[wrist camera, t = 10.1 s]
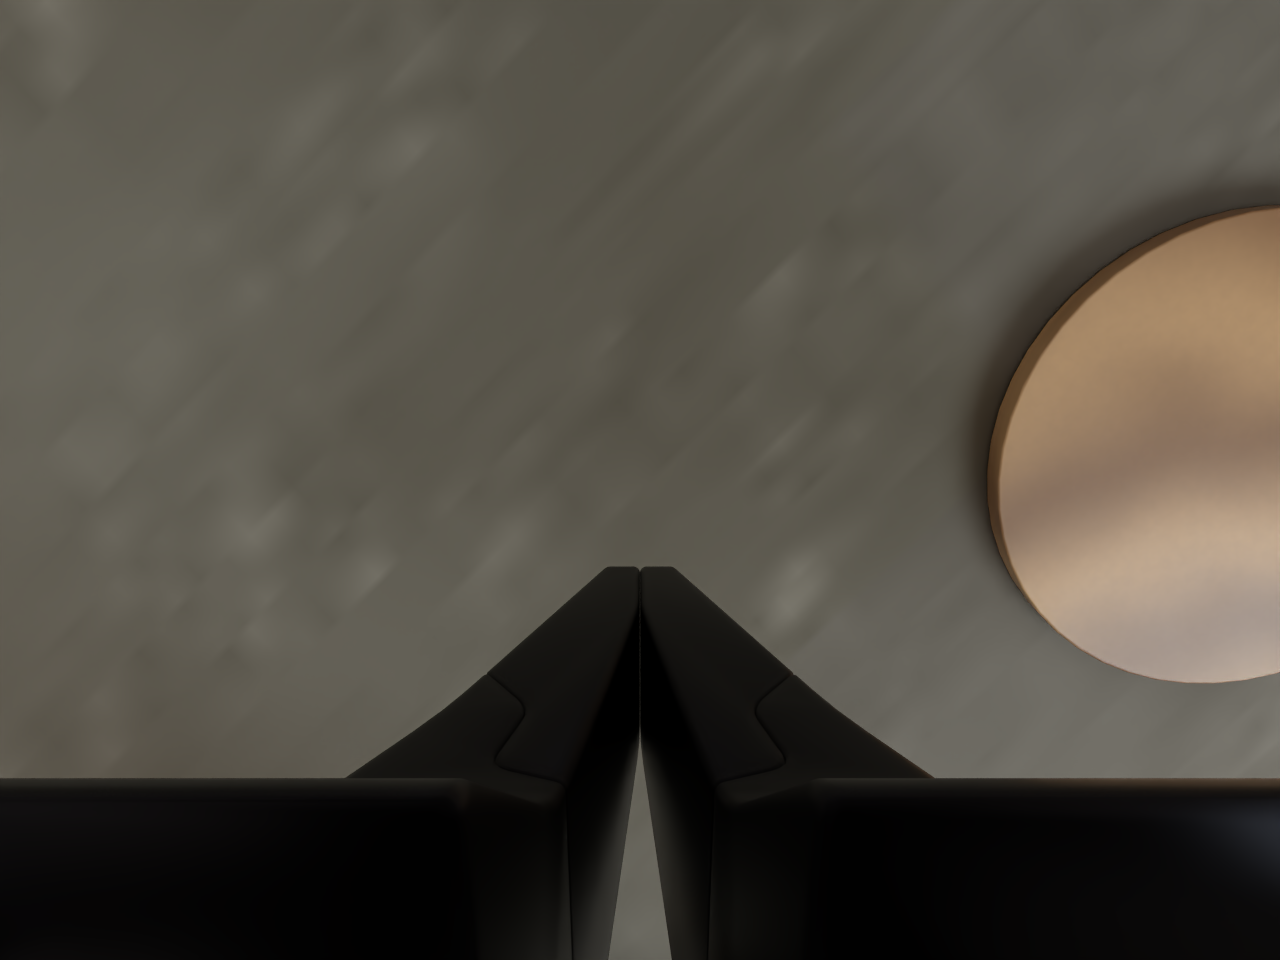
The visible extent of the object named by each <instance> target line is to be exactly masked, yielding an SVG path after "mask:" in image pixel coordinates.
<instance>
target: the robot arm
mask: <svg viewBox="0 0 1280 960" xmlns="http://www.w3.org/2000/svg"><path fill="white" fill-rule="evenodd" d="M639 733H641V748H642V757H643V765H644V772H645V778H646V785H647V792H648V799H649V806H650V813H651V820H652V826H653V833H654V840H655V847H656V854H657V861H658V867H659V874H660V881H661V888H662V895H663V902H664V908H665V915H666V922H667V929H668V936H669V943H670V950H671V956H672V960H1280V778H934V777H932V776H931V775H930V774H928V773H927V772H925V771H924V770H922V769H921V768H919V767H918V766H916V765H915V764H914V763H912V762H911V761H909V760H908V759H906V758H905V757H903V756H902V755H900V754H899V753H897V752H896V751H895V750H893V749H892V748H890V747H889V746H887V745H886V744H884V743H883V742H881V741H880V740H879V739H877V738H876V737H874V736H873V735H871V734H870V733H868V732H867V731H865V730H864V729H863V728H861V727H860V726H859V725H857V724H856V723H854V722H853V721H852V720H850V719H849V718H848V717H846V716H845V715H843V714H842V713H841V712H839V711H838V710H836V709H835V708H834V707H833V706H832V705H830V704H829V703H828V702H827V701H826V700H824V699H823V698H822V697H821V696H819V695H818V694H817V693H816V692H815V691H813V690H812V689H811V688H810V687H809V686H808V685H806V684H805V683H804V682H803V681H802V680H801V679H800V678H799V677H797V676H796V675H793V673H792V672H791V671H790V670H789V669H788V668H787V667H786V666H785V665H784V664H782V663H781V662H780V661H779V660H778V659H777V658H776V657H774V656H773V655H772V654H771V653H770V652H769V651H768V650H767V649H765V648H764V647H763V646H762V645H761V644H760V643H759V642H758V641H756V640H755V639H754V638H753V637H752V636H751V635H750V634H749V633H747V632H746V631H745V630H744V629H743V628H742V627H741V626H739V625H738V624H737V623H736V622H735V621H734V620H733V619H732V618H730V617H729V616H728V615H727V614H726V613H725V612H724V611H723V610H721V609H720V608H719V607H718V606H717V605H716V604H715V603H714V602H712V601H711V600H710V599H709V598H708V597H707V596H706V595H704V594H703V593H702V592H701V591H700V590H699V589H698V588H697V587H695V586H694V585H693V584H692V583H691V582H690V581H689V580H688V579H686V578H685V577H684V576H683V575H682V574H681V573H680V572H679V571H677V570H676V569H675V568H673V567H644V568H642V569H641V571H639V569H638V568H636V567H607V568H605V569H604V570H603V571H601V572H600V573H599V574H598V575H597V576H596V577H595V578H594V579H592V580H591V581H590V582H589V583H588V584H587V585H586V586H585V587H583V588H582V589H581V590H580V591H579V592H578V593H577V594H576V595H574V596H573V597H572V598H571V599H570V600H569V601H568V602H566V603H565V604H564V605H563V606H562V607H561V608H560V609H559V610H557V611H556V612H555V613H554V614H553V615H552V616H551V617H550V618H548V619H547V620H546V621H545V622H544V623H543V624H542V625H541V626H539V627H538V628H537V629H536V630H535V631H534V632H533V633H531V634H530V635H529V636H528V637H527V638H526V639H525V640H524V641H522V642H521V643H520V644H519V645H518V646H517V647H516V648H515V649H513V650H512V651H511V652H510V653H509V654H508V655H507V656H506V657H504V658H503V659H502V660H501V661H500V662H499V663H498V664H496V665H495V666H494V667H493V668H492V669H491V670H490V671H489V672H488V673H487V675H484V676H483V677H481V678H480V679H479V680H478V681H477V682H476V683H475V684H474V685H472V686H471V687H470V688H469V689H468V690H467V691H465V692H464V693H463V694H462V695H461V696H459V697H458V698H457V699H456V700H454V701H453V702H452V703H451V704H450V705H448V706H447V707H446V708H445V709H443V710H442V711H441V712H439V713H438V714H437V715H435V716H434V717H432V718H431V719H430V720H428V721H427V722H426V723H424V724H423V725H421V726H420V727H419V728H417V729H416V730H415V731H413V732H412V733H410V734H409V735H407V736H406V737H404V738H403V739H401V740H400V741H399V742H397V743H396V744H394V745H393V746H391V747H390V748H388V749H387V750H385V751H384V752H383V753H381V754H380V755H378V756H377V757H375V758H374V759H372V760H371V761H369V762H368V763H366V764H365V765H364V766H362V767H361V768H359V769H358V770H356V771H355V772H353V773H352V774H350V775H349V776H347V777H346V778H0V960H608V956H609V950H610V943H611V936H612V929H613V922H614V915H615V908H616V902H617V895H618V888H619V881H620V874H621V867H622V861H623V854H624V847H625V840H626V833H627V826H628V819H629V813H630V806H631V799H632V792H633V785H634V778H635V772H636V765H637V757H638V748H639Z"/></svg>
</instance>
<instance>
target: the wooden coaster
mask: <svg viewBox="0 0 1280 960" xmlns="http://www.w3.org/2000/svg"><path fill="white" fill-rule="evenodd" d="M987 500H988V506H989V513H990V519H991V526H992V530H993V533H994V536H995V540H996V543H997V546H998V549H999V553H1000V555H1001V557H1002V559H1003V561H1004V563H1005V565H1006V567H1007V570H1008V572H1009V574H1010V576H1011V578H1012V579H1013V581H1014V582H1015V584H1016V585H1017V587H1018V588H1019V589H1020V591H1021V592H1022V594H1023V595H1024V597H1025V598H1026V600H1027V601H1028V602H1029V603H1030V604H1031V605H1032V606H1033V607H1034V608H1035V610H1036V611H1037V612H1038V613H1039V614H1040V615H1041V616H1042V617H1043V618H1044V619H1045V620H1046V621H1047V622H1048V623H1049V624H1050V625H1051V627H1052V628H1053V629H1054V630H1055V631H1056V632H1058V633H1059V634H1060V635H1061V636H1063V637H1064V638H1065V639H1066V640H1068V641H1069V642H1070V643H1072V644H1073V645H1074V646H1075V647H1077V648H1078V649H1080V650H1082V651H1083V652H1085V653H1087V654H1089V655H1090V656H1092V657H1094V658H1096V659H1097V660H1099V661H1101V662H1103V663H1106V664H1108V665H1111V666H1113V667H1116V668H1118V669H1121V670H1123V671H1126V672H1129V673H1133V674H1137V675H1141V676H1145V677H1149V678H1153V679H1157V680H1165V681H1173V682H1181V683H1222V682H1231V681H1241V680H1248V679H1253V678H1257V677H1262V676H1266V675H1271V674H1276V673H1279V672H1280V205H1266V206H1259V207H1251V208H1243V209H1235V210H1230V211H1226V212H1222V213H1218V214H1215V215H1211V216H1207V217H1203V218H1199V219H1196V220H1193V221H1191V222H1188V223H1186V224H1183V225H1181V226H1178V227H1176V228H1173V229H1171V230H1168V231H1165V232H1163V233H1161V234H1159V235H1157V236H1155V237H1154V238H1152V239H1150V240H1148V241H1146V242H1144V243H1142V244H1140V245H1139V246H1137V247H1135V248H1133V249H1131V250H1130V251H1128V252H1127V253H1125V254H1124V255H1122V256H1121V257H1119V258H1118V259H1117V260H1115V261H1114V262H1112V263H1111V264H1109V265H1108V266H1106V267H1105V268H1104V269H1102V270H1101V271H1099V272H1098V273H1097V274H1096V275H1095V276H1094V277H1093V278H1091V279H1090V280H1089V281H1088V282H1087V283H1086V284H1085V285H1083V286H1082V287H1081V288H1080V289H1079V290H1078V291H1077V292H1075V293H1074V294H1073V295H1072V296H1071V297H1070V298H1069V299H1068V300H1067V302H1066V303H1065V304H1064V305H1063V306H1062V307H1061V308H1060V309H1059V310H1058V311H1057V313H1056V314H1055V315H1054V316H1053V317H1052V318H1051V319H1050V320H1049V321H1048V323H1047V324H1046V325H1045V327H1044V328H1043V330H1042V331H1041V332H1040V334H1039V335H1038V337H1037V338H1036V339H1035V341H1034V342H1033V343H1032V345H1031V346H1030V348H1029V349H1028V351H1027V352H1026V354H1025V356H1024V358H1023V360H1022V361H1021V363H1020V365H1019V367H1018V369H1017V370H1016V372H1015V374H1014V376H1013V378H1012V379H1011V382H1010V384H1009V387H1008V389H1007V392H1006V394H1005V397H1004V399H1003V402H1002V404H1001V406H1000V409H999V412H998V416H997V420H996V424H995V427H994V431H993V435H992V439H991V445H990V453H989V460H988V468H987Z"/></svg>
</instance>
